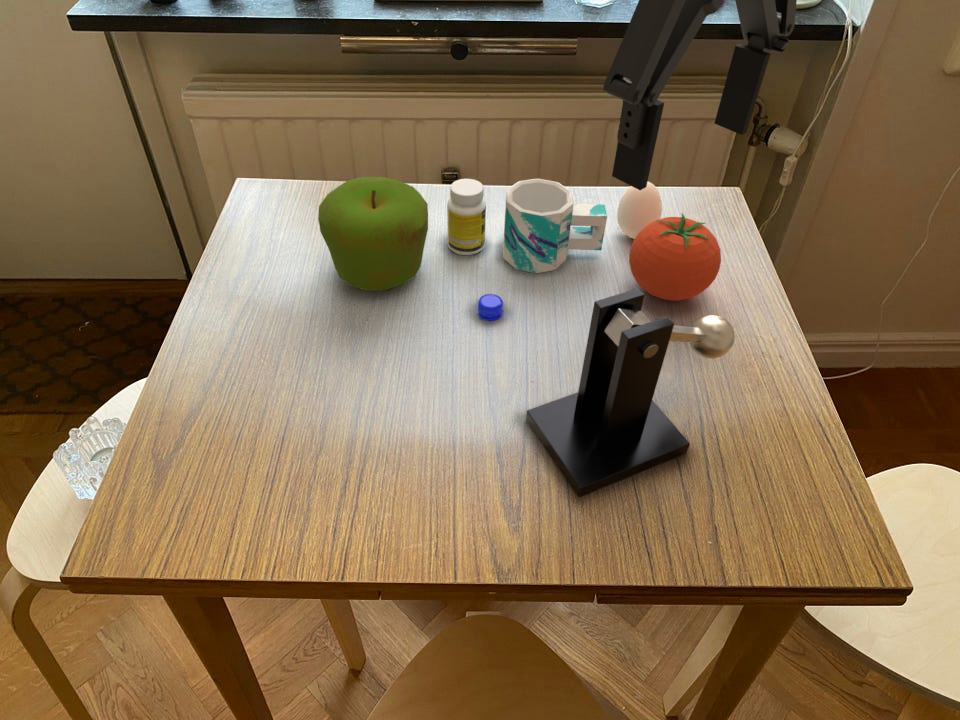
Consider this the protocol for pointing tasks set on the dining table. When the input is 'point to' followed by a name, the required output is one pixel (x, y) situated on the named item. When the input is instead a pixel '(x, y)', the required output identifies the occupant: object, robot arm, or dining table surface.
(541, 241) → the mug
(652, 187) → the egg
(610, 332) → the lever
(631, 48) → the robot arm
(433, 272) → the dining table surface
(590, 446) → the tap bracket
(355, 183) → the apple
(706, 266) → the tomato
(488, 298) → the bottle cap
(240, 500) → the dining table surface
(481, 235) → the supplement bottle
